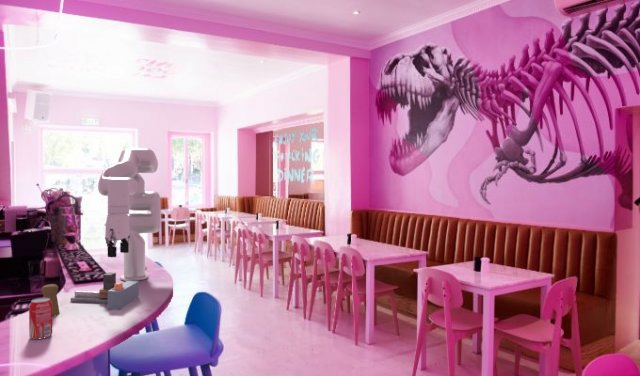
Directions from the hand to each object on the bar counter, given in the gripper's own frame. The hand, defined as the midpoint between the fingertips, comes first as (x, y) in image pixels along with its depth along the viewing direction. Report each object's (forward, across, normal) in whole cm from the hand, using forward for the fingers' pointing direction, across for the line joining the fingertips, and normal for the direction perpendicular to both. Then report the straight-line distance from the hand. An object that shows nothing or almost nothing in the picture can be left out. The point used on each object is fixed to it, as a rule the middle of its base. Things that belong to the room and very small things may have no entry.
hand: (118, 254), depth 171 cm
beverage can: (+21, +32, -8) cm, 39 cm away
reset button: (+17, 0, 0) cm, 17 cm away
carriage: (+19, -6, -7) cm, 21 cm away
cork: (+21, +12, -19) cm, 31 cm away
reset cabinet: (+20, -4, 0) cm, 21 cm away
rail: (+20, -6, -12) cm, 24 cm away
